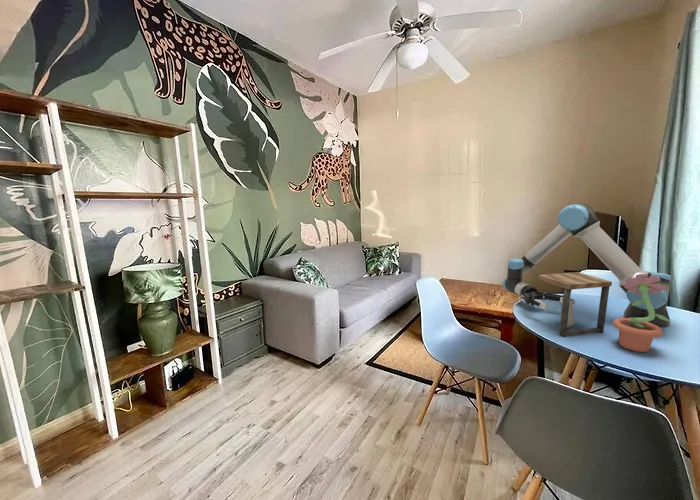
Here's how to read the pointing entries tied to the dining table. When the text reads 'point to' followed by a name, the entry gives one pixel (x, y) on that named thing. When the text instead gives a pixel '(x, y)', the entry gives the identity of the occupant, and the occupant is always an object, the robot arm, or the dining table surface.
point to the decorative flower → (639, 330)
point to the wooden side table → (569, 283)
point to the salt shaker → (570, 314)
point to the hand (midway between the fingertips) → (559, 305)
